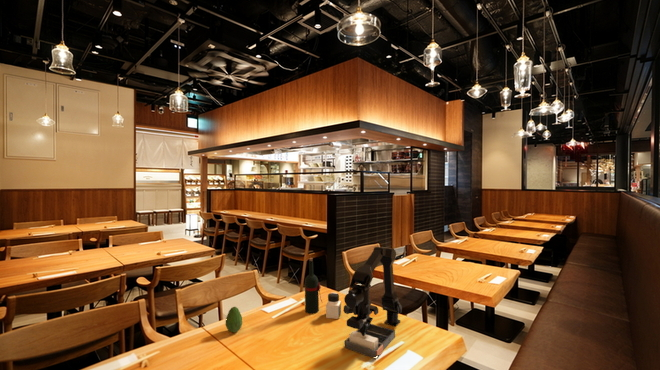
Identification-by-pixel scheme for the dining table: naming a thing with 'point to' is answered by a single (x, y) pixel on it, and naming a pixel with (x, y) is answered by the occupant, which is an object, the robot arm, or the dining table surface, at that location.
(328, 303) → the medicine bottle
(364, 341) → the blanking panel
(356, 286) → the robot arm
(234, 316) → the avocado
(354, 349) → the divided tray
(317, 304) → the wine bottle
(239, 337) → the dining table surface
